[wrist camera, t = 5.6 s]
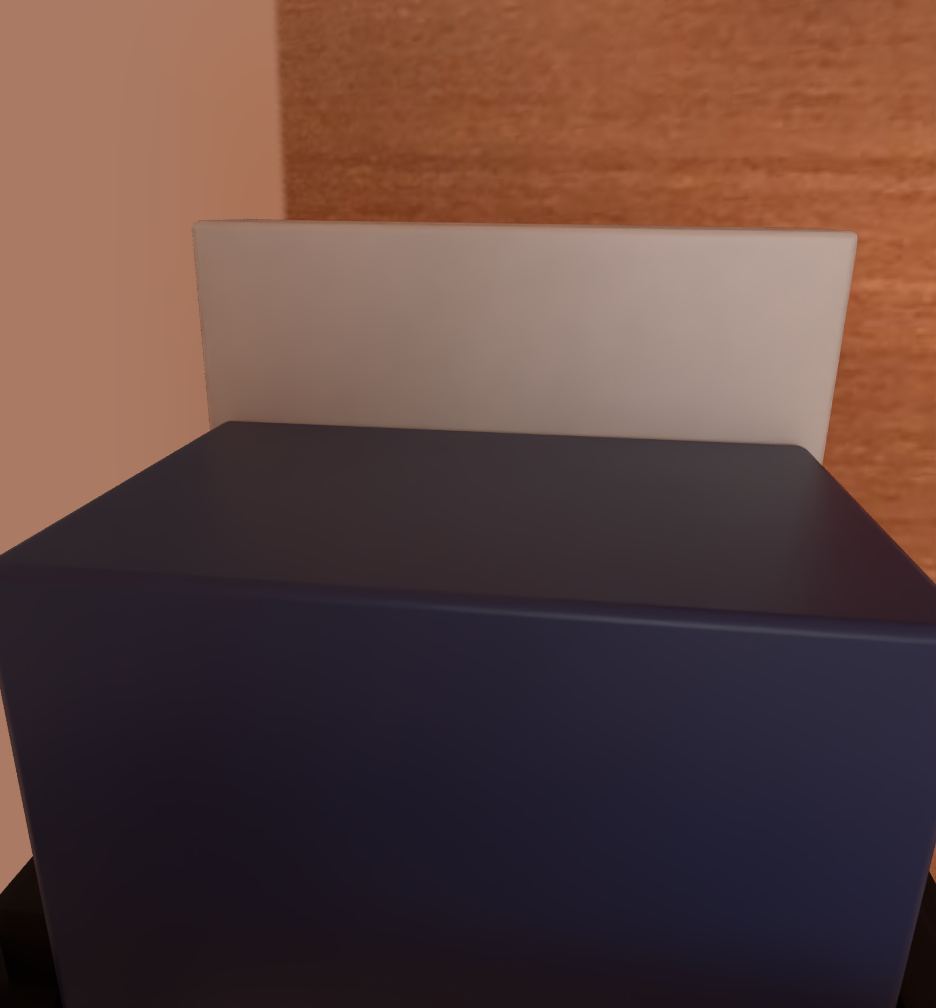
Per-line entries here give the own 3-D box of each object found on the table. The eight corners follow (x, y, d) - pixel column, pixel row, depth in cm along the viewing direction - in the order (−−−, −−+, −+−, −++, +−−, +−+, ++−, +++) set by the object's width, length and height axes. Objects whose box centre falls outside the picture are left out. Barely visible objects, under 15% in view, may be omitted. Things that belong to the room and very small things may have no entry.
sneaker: (244, 219, 10) (-133, 227, 5) (818, 228, 9) (1135, 249, 4) (311, 1164, 15) (171, 1662, 10) (676, 1218, 14) (732, 1788, 9)
